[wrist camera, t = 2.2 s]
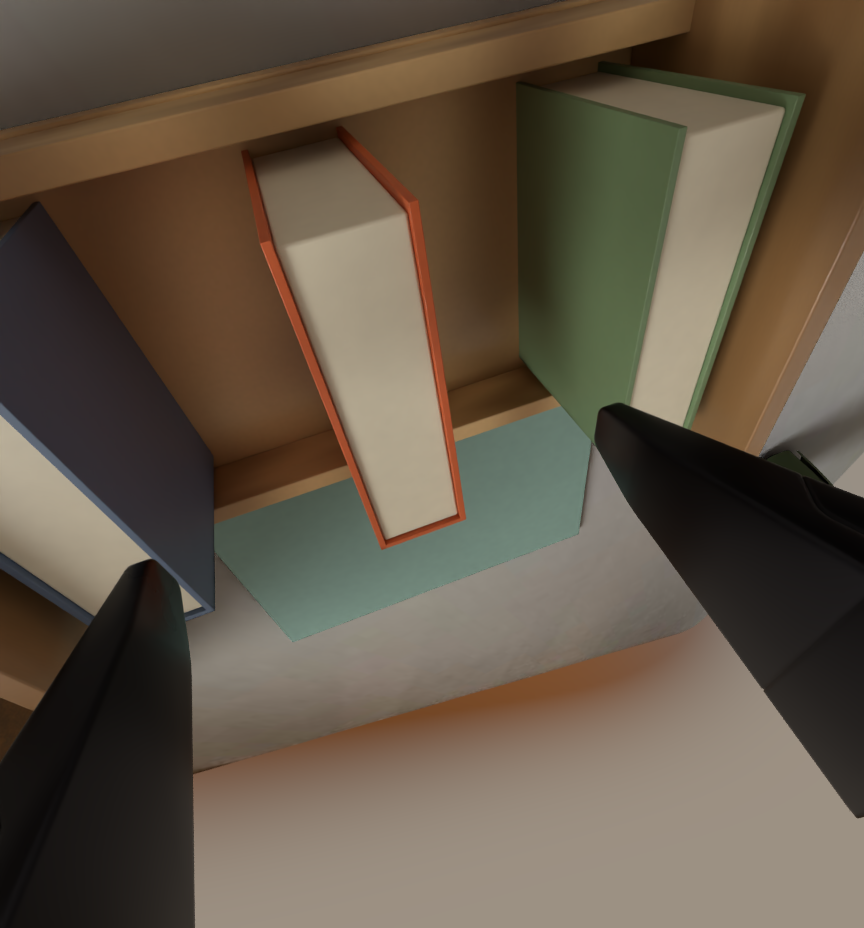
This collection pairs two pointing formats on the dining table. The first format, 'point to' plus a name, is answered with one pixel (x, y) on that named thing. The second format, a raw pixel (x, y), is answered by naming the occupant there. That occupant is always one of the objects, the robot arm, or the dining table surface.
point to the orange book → (364, 324)
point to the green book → (638, 230)
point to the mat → (420, 559)
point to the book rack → (444, 226)
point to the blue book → (90, 439)
